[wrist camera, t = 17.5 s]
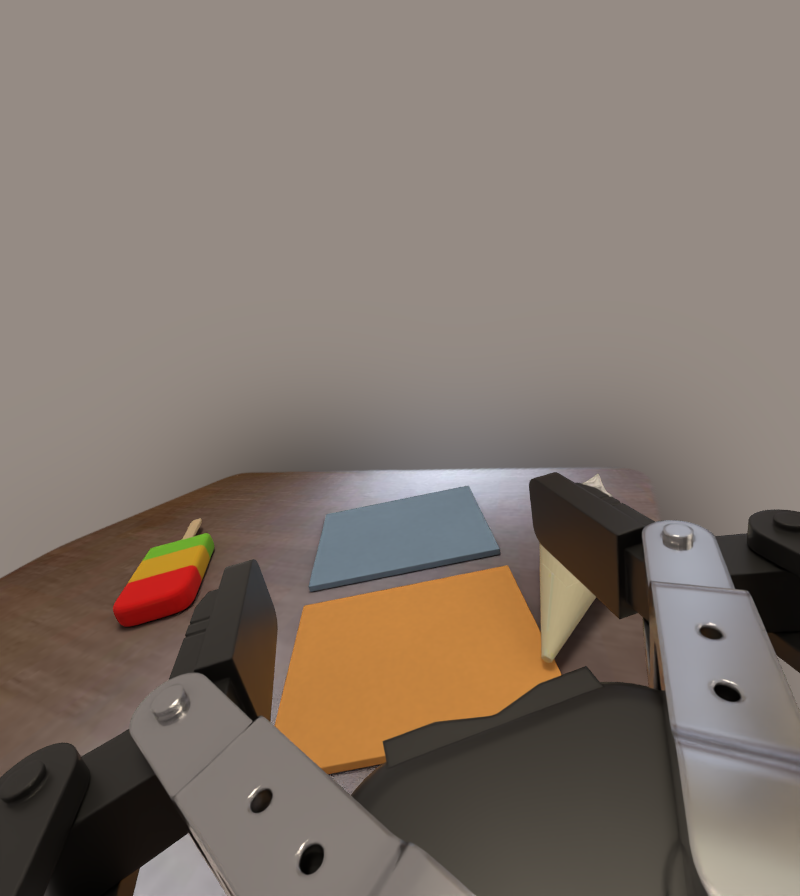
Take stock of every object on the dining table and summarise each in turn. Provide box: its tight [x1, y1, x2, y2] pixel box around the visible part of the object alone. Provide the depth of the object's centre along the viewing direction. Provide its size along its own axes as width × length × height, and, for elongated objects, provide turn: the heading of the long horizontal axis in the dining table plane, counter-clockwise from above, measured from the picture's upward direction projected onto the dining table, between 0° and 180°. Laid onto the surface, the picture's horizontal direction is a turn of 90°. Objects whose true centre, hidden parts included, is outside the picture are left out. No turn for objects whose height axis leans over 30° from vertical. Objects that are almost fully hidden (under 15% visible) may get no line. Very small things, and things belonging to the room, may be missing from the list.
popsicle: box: [113, 519, 214, 627], centre depth 38 cm, size 6×15×2 cm, turn 12°
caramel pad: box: [275, 566, 562, 774], centre depth 23 cm, size 14×11×1 cm
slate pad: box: [309, 486, 500, 592], centre depth 36 cm, size 14×11×1 cm
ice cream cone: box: [540, 474, 612, 663], centre depth 25 cm, size 5×5×15 cm
